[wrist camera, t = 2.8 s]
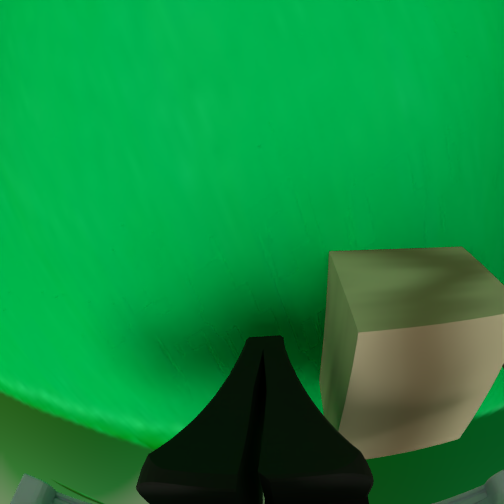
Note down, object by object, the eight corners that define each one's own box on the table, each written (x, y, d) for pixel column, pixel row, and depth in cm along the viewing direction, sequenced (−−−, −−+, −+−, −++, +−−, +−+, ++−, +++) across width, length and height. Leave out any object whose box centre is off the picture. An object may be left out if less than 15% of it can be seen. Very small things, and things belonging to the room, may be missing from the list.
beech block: (460, 245, 12) (526, 309, 7) (426, 366, 15) (459, 438, 10) (328, 249, 12) (358, 332, 8) (318, 378, 15) (329, 463, 10)
